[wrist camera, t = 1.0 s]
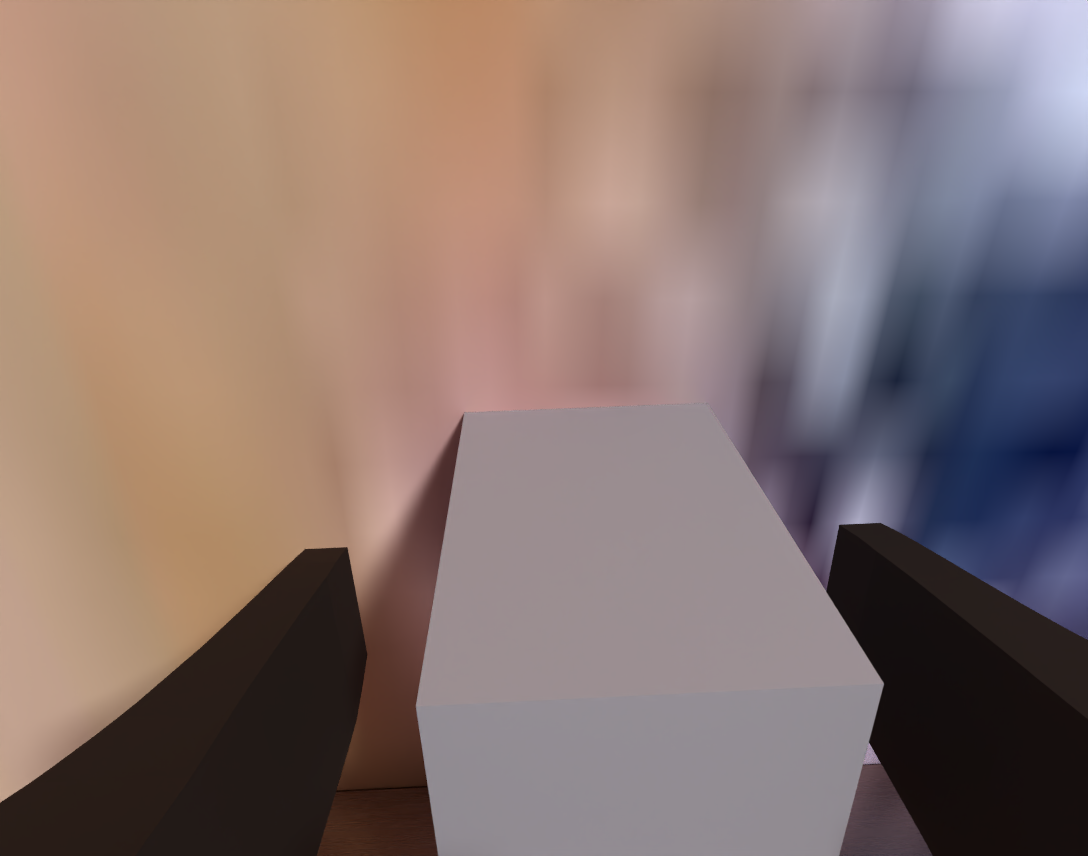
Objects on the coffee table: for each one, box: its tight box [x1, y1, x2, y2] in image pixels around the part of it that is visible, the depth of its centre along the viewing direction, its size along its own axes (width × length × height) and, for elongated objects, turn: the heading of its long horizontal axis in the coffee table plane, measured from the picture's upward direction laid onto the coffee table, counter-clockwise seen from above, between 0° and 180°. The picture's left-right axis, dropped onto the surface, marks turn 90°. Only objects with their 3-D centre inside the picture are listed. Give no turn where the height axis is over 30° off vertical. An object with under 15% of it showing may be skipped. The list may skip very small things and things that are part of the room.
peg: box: [416, 403, 884, 856], centre depth 9 cm, size 4×4×6 cm
